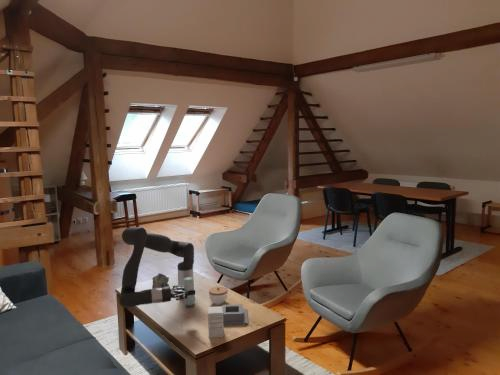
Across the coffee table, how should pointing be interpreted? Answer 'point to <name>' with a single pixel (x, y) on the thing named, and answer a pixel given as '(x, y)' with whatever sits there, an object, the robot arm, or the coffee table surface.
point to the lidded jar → (218, 295)
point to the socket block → (234, 315)
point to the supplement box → (215, 322)
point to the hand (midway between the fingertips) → (194, 290)
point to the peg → (188, 287)
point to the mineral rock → (160, 281)
